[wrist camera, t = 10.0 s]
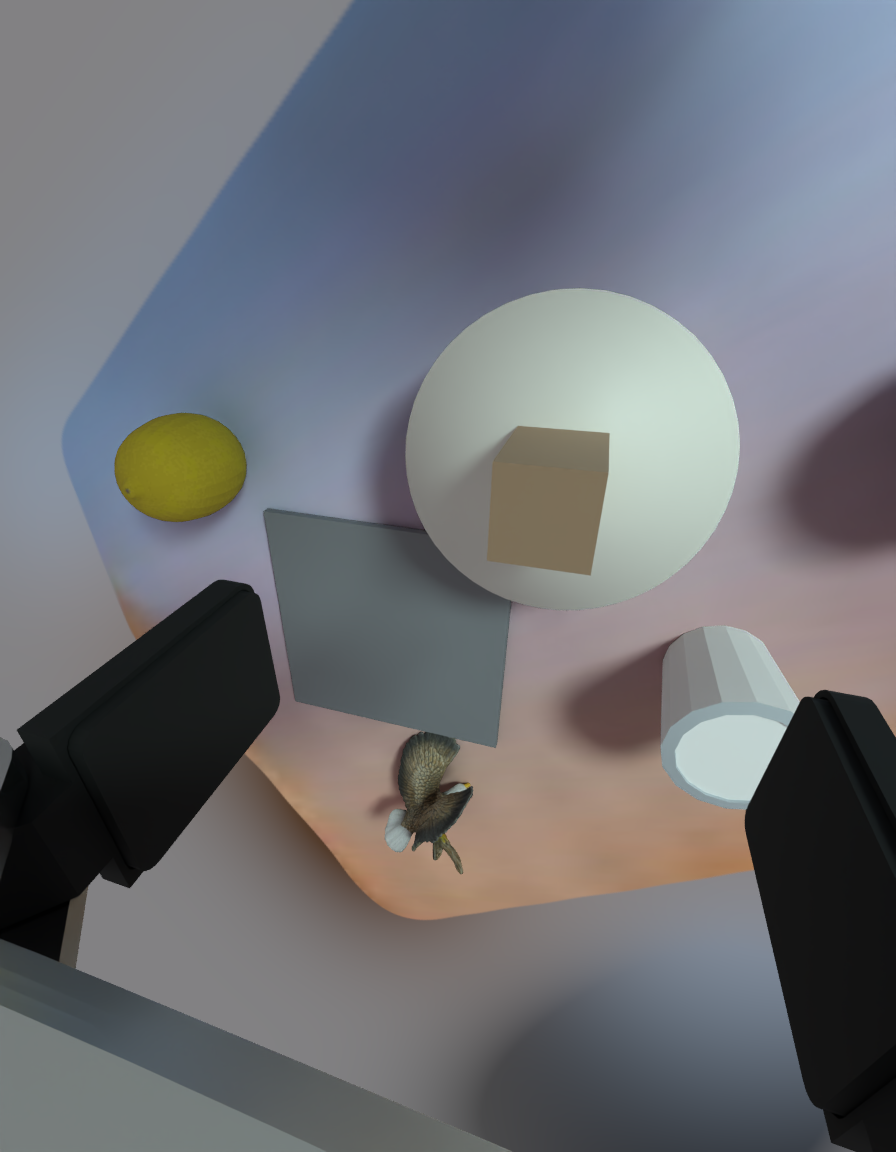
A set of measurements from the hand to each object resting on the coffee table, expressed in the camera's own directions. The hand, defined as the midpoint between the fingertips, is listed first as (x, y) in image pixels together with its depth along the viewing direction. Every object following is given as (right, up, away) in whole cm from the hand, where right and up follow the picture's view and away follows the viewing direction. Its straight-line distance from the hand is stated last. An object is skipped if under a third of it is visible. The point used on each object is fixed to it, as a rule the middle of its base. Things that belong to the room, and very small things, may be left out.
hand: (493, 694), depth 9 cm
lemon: (-14, +10, +22) cm, 28 cm away
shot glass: (+15, -3, +20) cm, 25 cm away
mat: (-5, -2, +26) cm, 26 cm away
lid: (+4, +7, +12) cm, 14 cm away
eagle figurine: (-1, -13, +31) cm, 34 cm away
